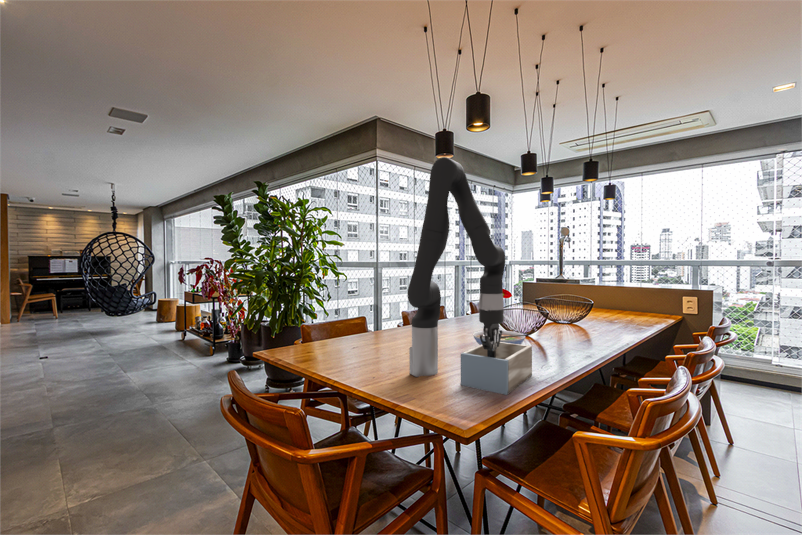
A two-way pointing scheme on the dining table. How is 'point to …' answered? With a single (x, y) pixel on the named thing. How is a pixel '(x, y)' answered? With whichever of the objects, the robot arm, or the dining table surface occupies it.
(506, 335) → the ramen bowl
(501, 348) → the crate
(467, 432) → the dining table surface
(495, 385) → the grey panel
